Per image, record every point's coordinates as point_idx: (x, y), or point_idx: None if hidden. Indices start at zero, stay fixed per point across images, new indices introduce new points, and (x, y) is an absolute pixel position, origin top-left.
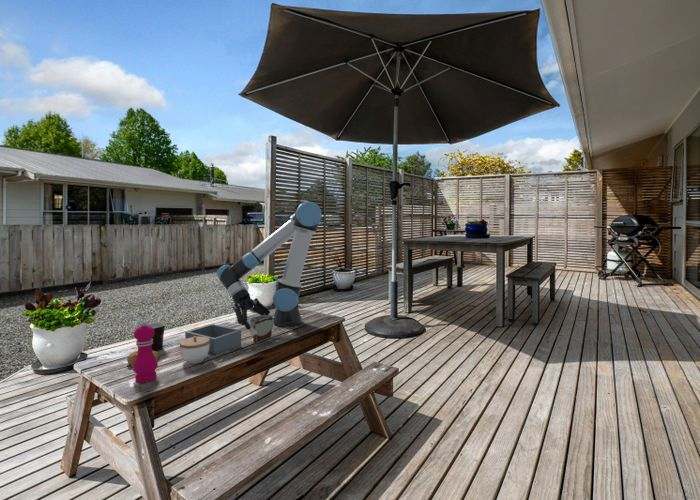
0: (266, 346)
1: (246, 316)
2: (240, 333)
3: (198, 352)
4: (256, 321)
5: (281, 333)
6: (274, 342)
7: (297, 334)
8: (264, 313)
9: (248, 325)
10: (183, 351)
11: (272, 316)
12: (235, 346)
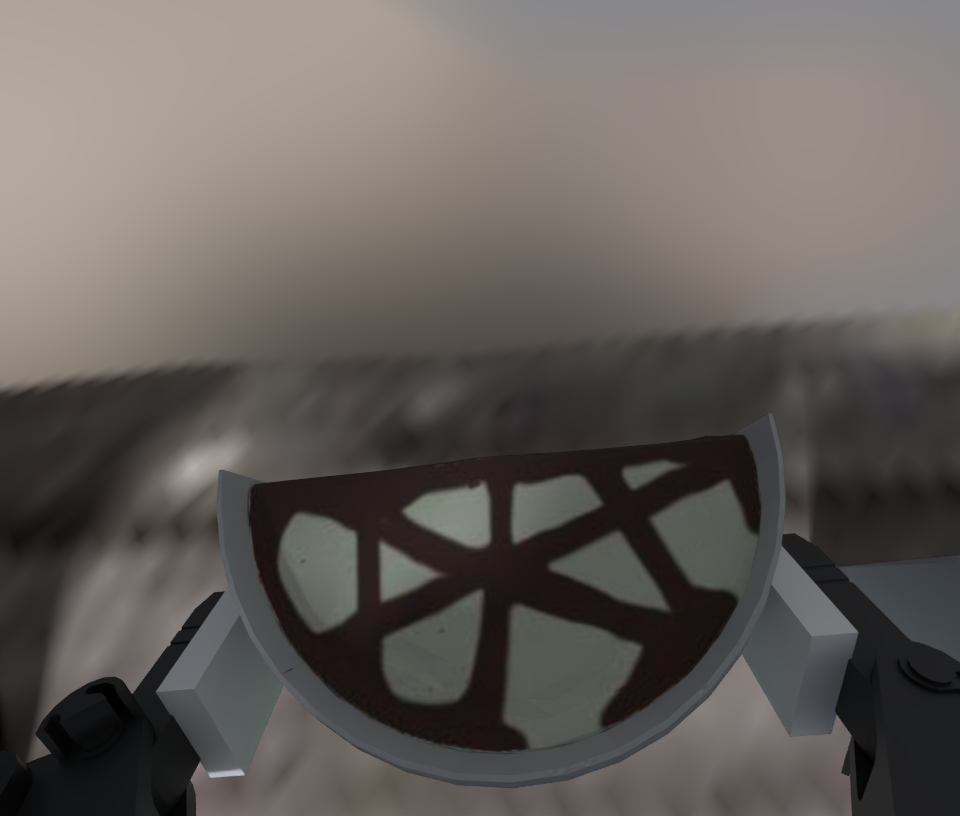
0: (613, 356)
1: (932, 814)
2: (954, 560)
3: None
4: (644, 515)
5: None
6: (490, 383)
7: (198, 390)
8: (148, 789)
9: (815, 574)
10: None
11: (232, 473)
12: (920, 559)
